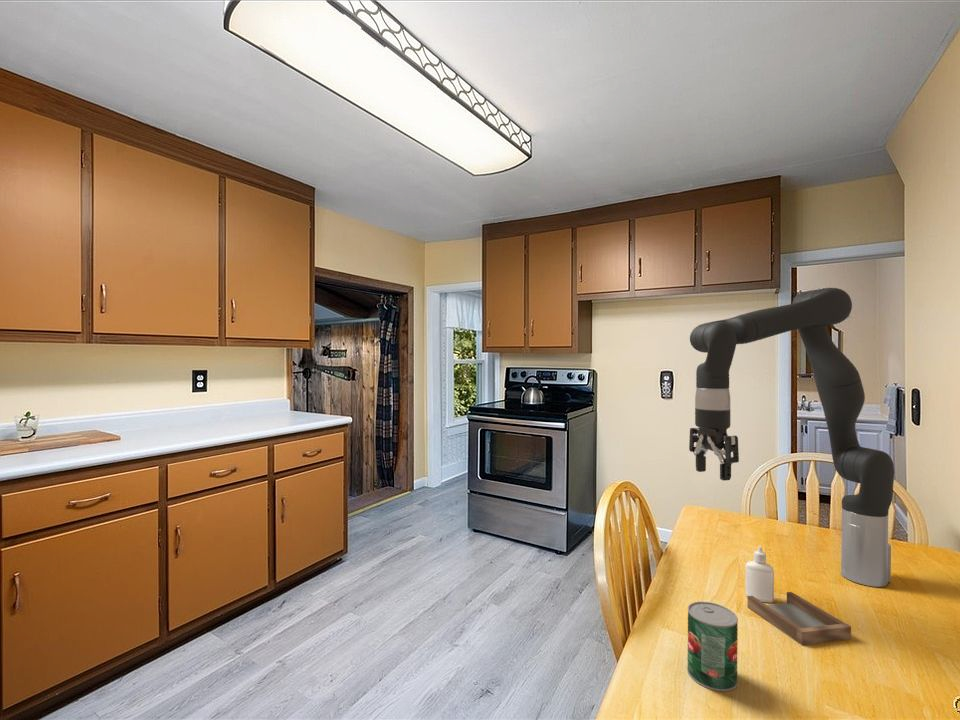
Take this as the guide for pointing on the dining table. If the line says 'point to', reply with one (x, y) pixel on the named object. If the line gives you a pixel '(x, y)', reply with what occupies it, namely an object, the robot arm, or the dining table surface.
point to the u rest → (801, 620)
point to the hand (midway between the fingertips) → (712, 475)
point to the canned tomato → (712, 646)
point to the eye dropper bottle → (760, 578)
